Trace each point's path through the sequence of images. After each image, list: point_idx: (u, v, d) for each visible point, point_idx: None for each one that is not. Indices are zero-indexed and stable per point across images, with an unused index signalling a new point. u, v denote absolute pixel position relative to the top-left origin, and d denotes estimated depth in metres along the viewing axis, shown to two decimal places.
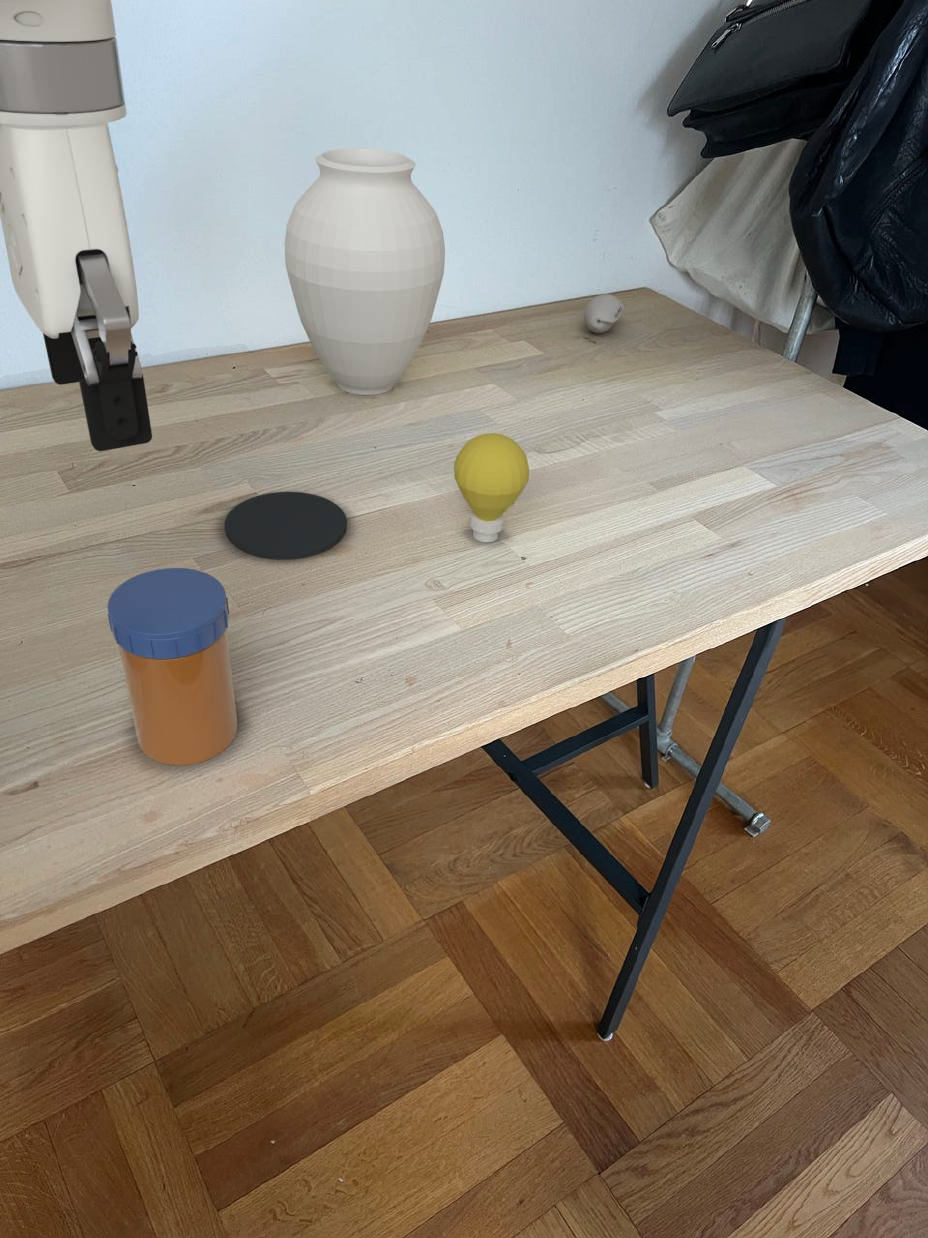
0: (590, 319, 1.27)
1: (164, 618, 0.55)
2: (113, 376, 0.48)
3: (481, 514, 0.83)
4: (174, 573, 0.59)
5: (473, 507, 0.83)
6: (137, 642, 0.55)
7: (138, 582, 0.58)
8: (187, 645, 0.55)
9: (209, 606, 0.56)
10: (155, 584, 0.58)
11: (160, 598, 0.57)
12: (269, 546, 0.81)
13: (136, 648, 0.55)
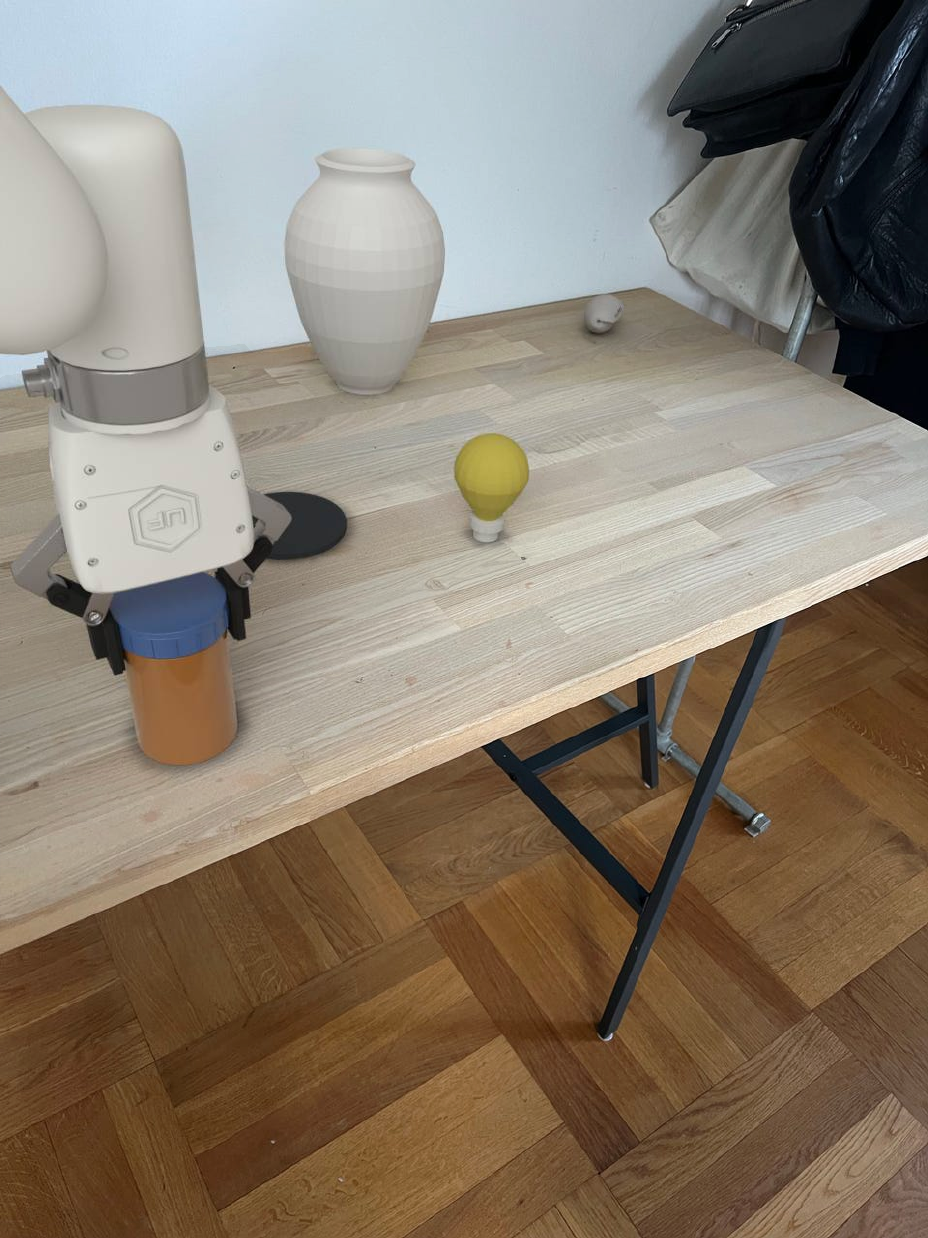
0: (590, 319, 1.27)
1: (165, 618, 0.55)
2: None
3: (481, 514, 0.83)
4: None
5: (473, 507, 0.83)
6: (137, 642, 0.55)
7: None
8: (187, 645, 0.55)
9: (209, 606, 0.56)
10: (155, 584, 0.58)
11: (160, 598, 0.57)
12: None
13: (136, 648, 0.55)
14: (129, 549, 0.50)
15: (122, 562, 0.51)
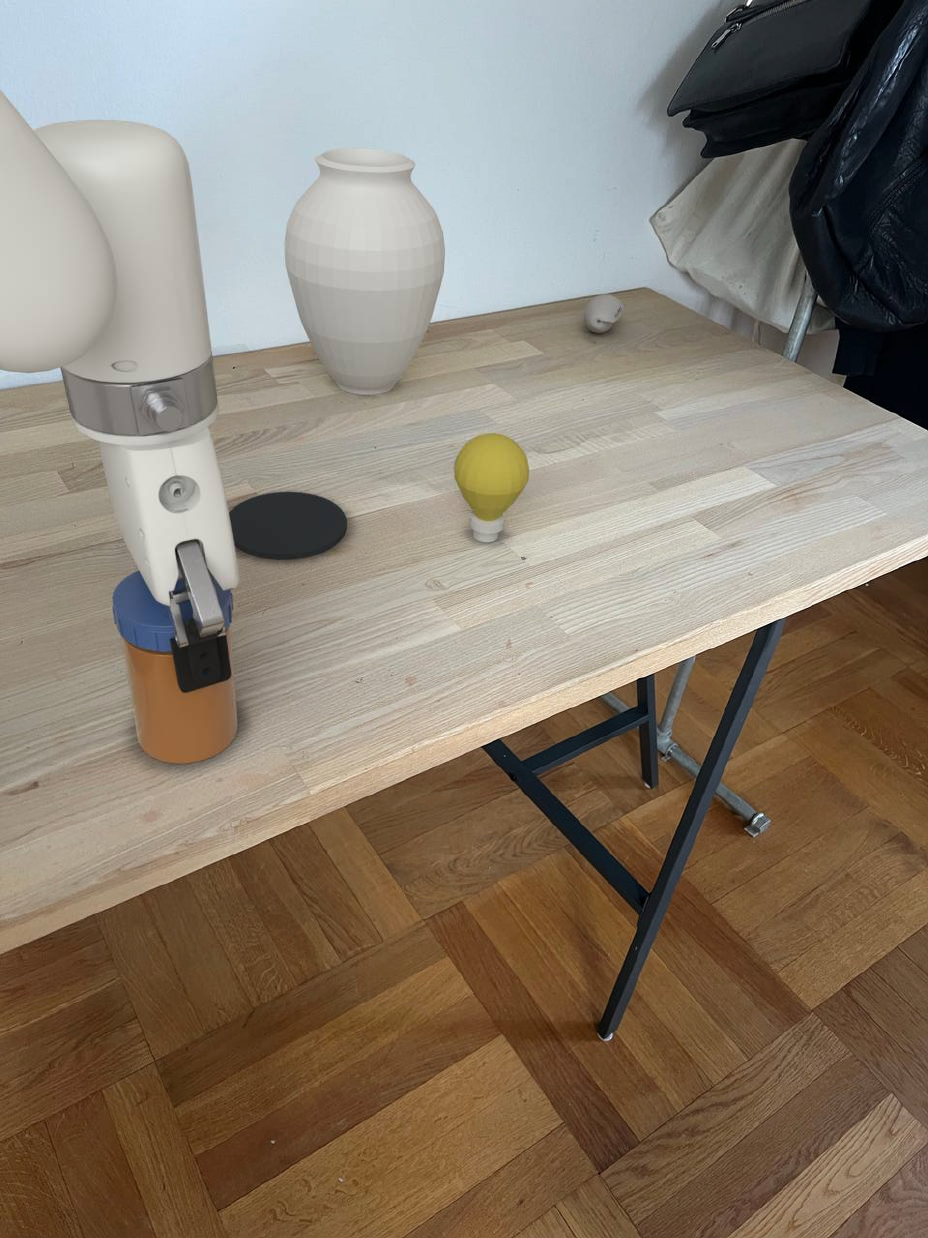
0: (590, 319, 1.27)
1: None
2: None
3: (481, 514, 0.83)
4: (124, 592, 0.56)
5: (473, 507, 0.83)
6: (224, 617, 0.57)
7: (135, 611, 0.55)
8: None
9: None
10: (142, 601, 0.56)
11: None
12: (269, 546, 0.81)
13: None
14: None
15: None
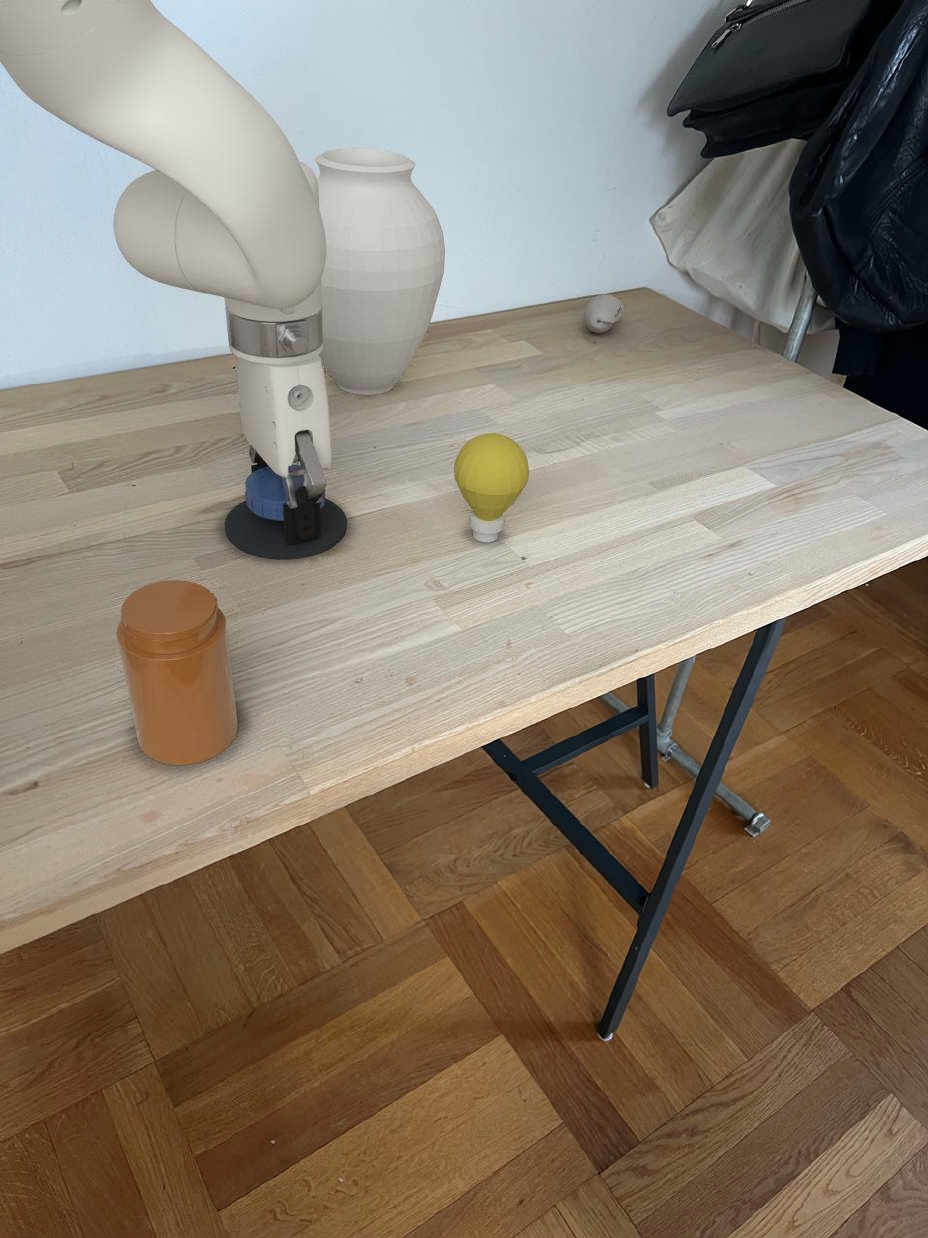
0: (590, 320, 1.27)
1: None
2: None
3: (481, 514, 0.83)
4: (282, 497, 0.80)
5: (473, 507, 0.83)
6: None
7: None
8: None
9: (256, 477, 0.83)
10: (295, 491, 0.81)
11: None
12: (269, 546, 0.81)
13: None
14: None
15: None
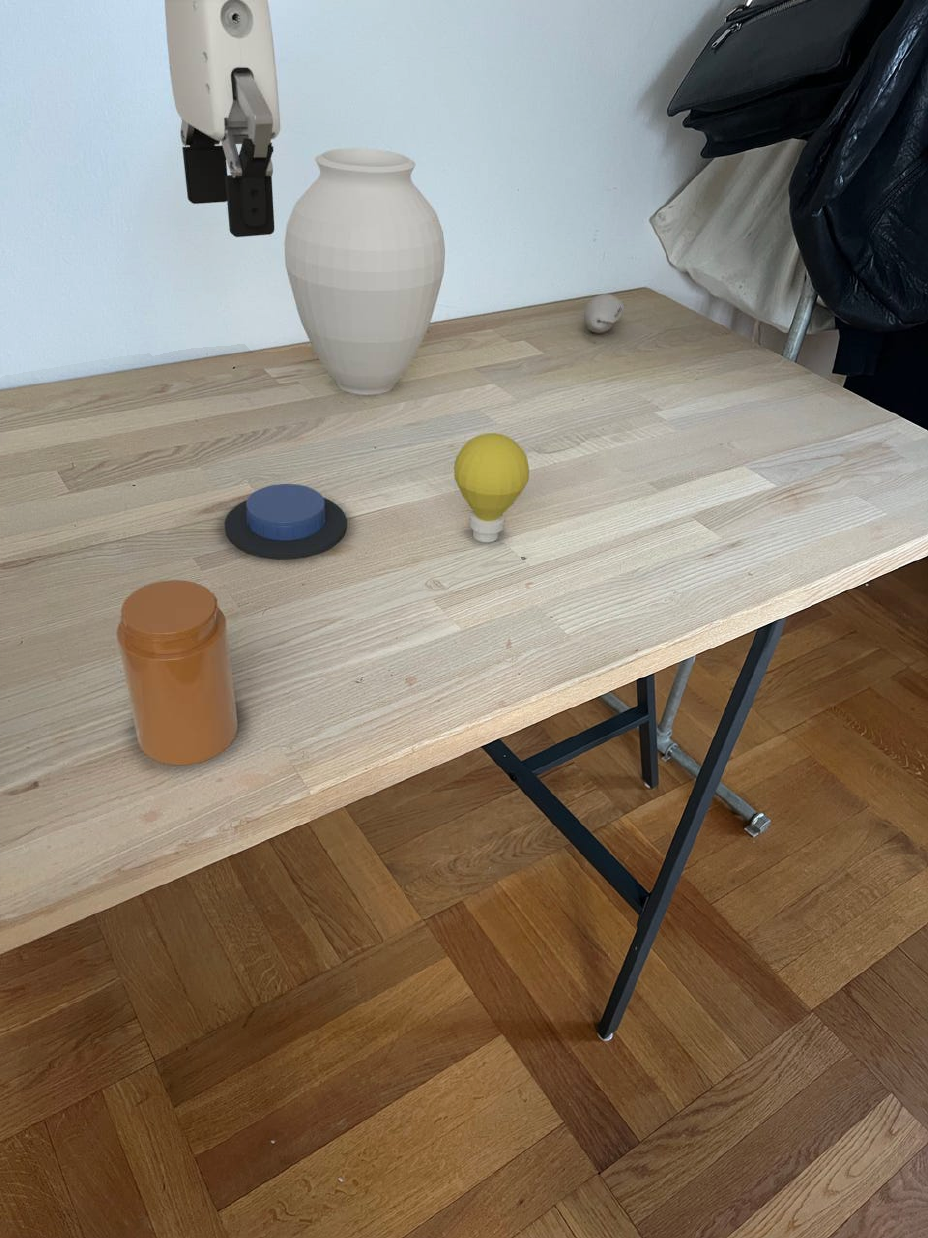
0: (590, 319, 1.27)
1: (285, 491, 0.85)
2: None
3: (481, 514, 0.83)
4: (283, 518, 0.81)
5: (473, 507, 0.83)
6: None
7: (307, 512, 0.82)
8: None
9: (257, 497, 0.84)
10: (295, 511, 0.83)
11: (290, 502, 0.84)
12: (269, 546, 0.81)
13: None
14: None
15: None
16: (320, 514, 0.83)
